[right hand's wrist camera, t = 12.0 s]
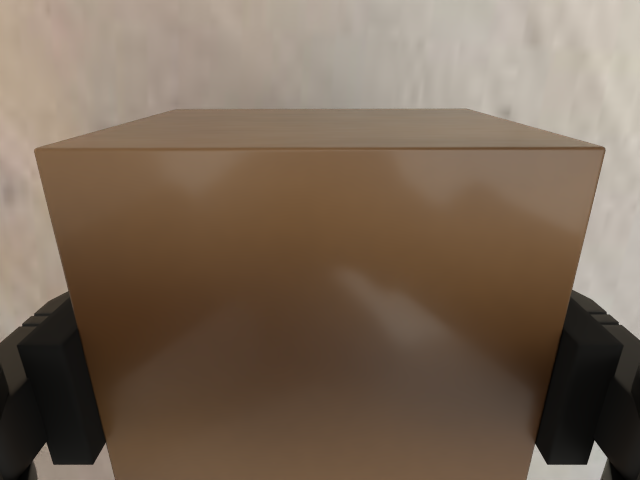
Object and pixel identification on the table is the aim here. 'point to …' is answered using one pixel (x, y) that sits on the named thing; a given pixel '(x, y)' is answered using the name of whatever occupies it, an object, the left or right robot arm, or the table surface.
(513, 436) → the wide beam
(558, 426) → the right robot arm
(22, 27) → the table surface
